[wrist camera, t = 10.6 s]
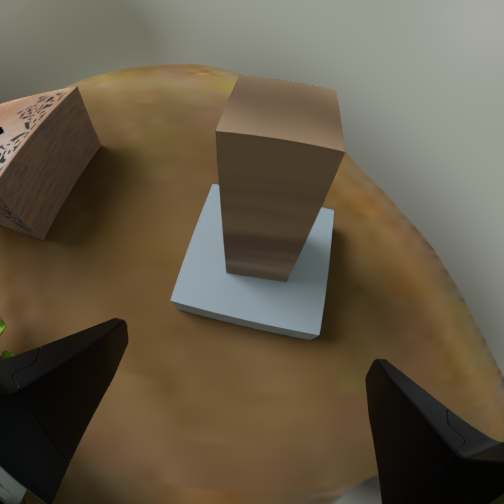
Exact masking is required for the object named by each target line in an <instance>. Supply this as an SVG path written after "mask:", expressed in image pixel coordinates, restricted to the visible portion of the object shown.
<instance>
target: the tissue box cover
mask: <svg viewBox="0 0 504 504" xmlns="http://www.w3.org/2000/svg"><path fill="white" fill-rule="evenodd" d="M100 146H101V144H100V141H99V139H98V137H97V134H96V132H95V130H94V127H93V125H92V123H91V120H90V118H89V115H88V113H87V110H86V108H85V105H84V103H83V100H82V97H81V95H80V92H79V89H78V86H76V87H70V88H64V89H58V90H53V91H48V92H43V93H39V94H35V95H30V96H26V97H22V98H19V99H15V100H12V101H8V102H5V103H1V104H0V225H2V226H4V227H7V228H10V229H12V230H15V231H18V232H21V233H23V234H26V235H29V236H32V237H35V238H37V239H40V240H43V241H44V239H45V237H46V235H47V233H48V231H49V229H50V227H51V225H52V223H53V221H54V219H55V218H56V216H57V214H58V212H59V210H60V208H61V207H62V205H63V203H64V201H65V200H66V198H67V196H68V195H69V193H70V191H71V190H72V188H73V186H74V185H75V183H76V182H77V180H78V178H79V177H80V175H81V174H82V172H83V171H84V169H85V168H86V166H87V165H88V163H89V162H90V160H91V159H92V158H93V156H94V155H95V153H96V152H97V151H98V149H99V148H100Z"/></svg>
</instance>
